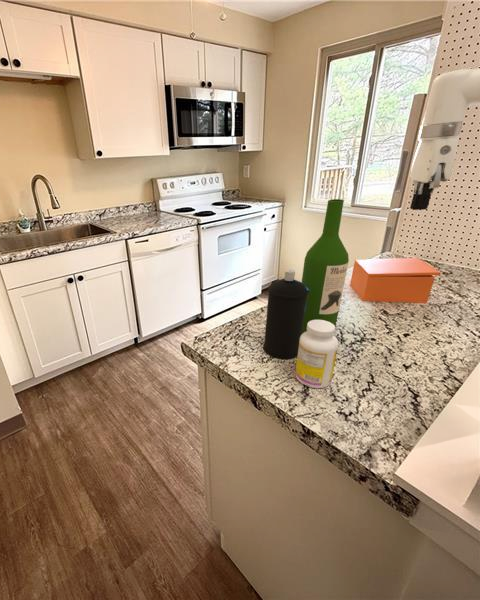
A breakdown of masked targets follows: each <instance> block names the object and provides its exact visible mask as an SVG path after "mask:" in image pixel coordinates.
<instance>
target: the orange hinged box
mask: <svg viewBox="0 0 480 600" xmlns="http://www.w3.org/2000/svg"><path fill="white" fill-rule="evenodd" d="M435 279H436V277H435V276H434V275H418V276H368V275H367V274H366V273H365V272H364V271H363V270H362V269H361V268H360V267H359V266H358V265H357V264H356V263H355V262H354V263H353V268H352V272H351V277H350V283H349V286H351V288H352V289H353V291H354V292H355V293H356V294H357V296H358V297H359V298H360V300H361V301H362V302H375V303H376V302H380V303H412V304H427V303H428V300H429V297H430V293H431V291H432V288H433V286H434V282H435Z"/></svg>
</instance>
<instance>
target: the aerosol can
mask: <svg viewBox="0 0 480 600" xmlns="http://www.w3.org/2000/svg"><path fill="white" fill-rule="evenodd" d="M295 275H296V271H295V270H294V269H285V270H284V278H280V279H277V280H275V281H274V282H272V283H270V284H269V285H268V286H267V291H268V296H267V307H266V308H267V309H266V320H265V332H264V343H263V344H262V349H263V351H264V352H265V353H266V354H267V355H269V356H270V357H273V358H276V359H280V360H291V359H295V358H297V356H298V349H299V341H300V337H301V334H302V327H303V320H304V313H305V306H306V300H307V295H308V293H309V289H308V288H307V287H306V286H305V285H304V284H303V283H302V281H299V280H297V279H295V278H296V277H295Z"/></svg>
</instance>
